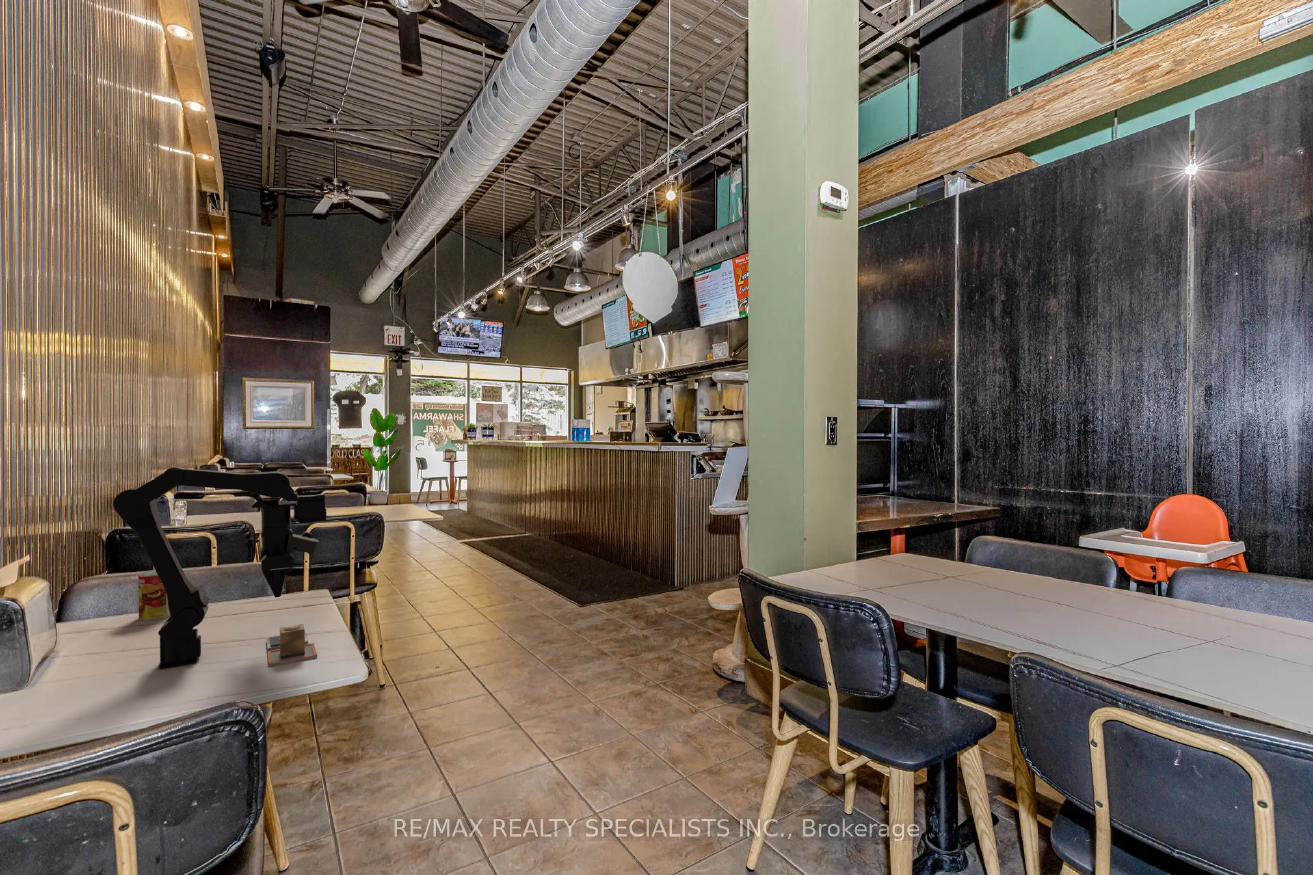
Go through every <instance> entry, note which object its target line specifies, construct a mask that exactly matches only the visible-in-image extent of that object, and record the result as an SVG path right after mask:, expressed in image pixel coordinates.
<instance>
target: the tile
mask: <svg viewBox="0 0 1313 875" xmlns="http://www.w3.org/2000/svg"><path fill="white" fill-rule="evenodd" d="M317 658H318V653H317V650H316V646H315V643H314V642H311V643H308V644H305V655H301V656H295V657H290V658H284V659H281V656H280V649H277V650H271V651H267V661H268V667H274V666H280V665H284V664H291V663H295V662H301V661H306V660H311V659H317Z"/></svg>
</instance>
